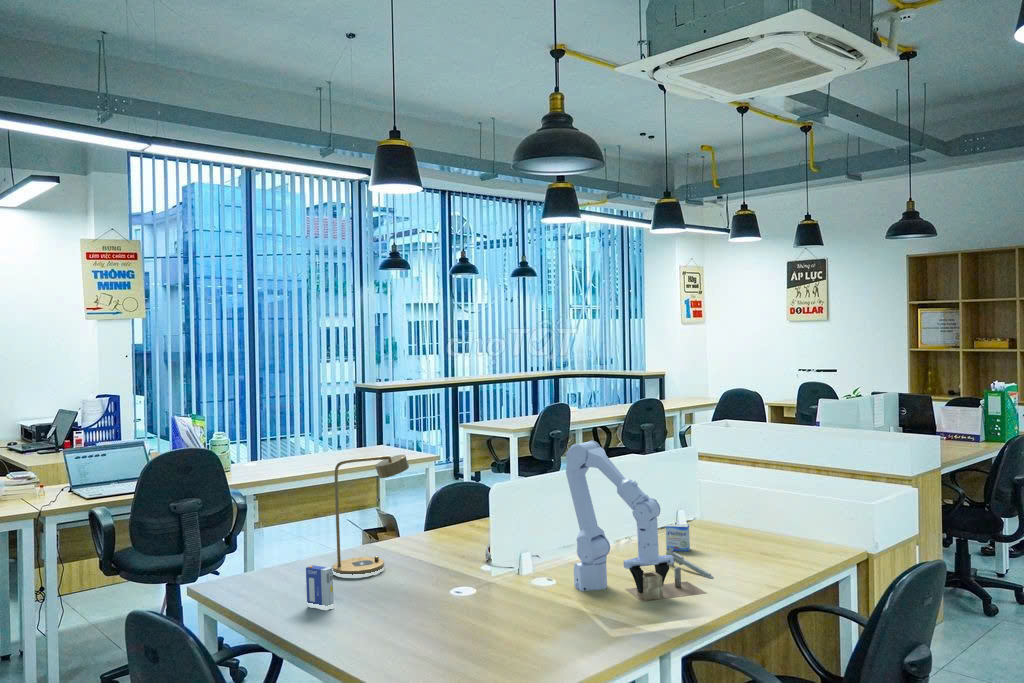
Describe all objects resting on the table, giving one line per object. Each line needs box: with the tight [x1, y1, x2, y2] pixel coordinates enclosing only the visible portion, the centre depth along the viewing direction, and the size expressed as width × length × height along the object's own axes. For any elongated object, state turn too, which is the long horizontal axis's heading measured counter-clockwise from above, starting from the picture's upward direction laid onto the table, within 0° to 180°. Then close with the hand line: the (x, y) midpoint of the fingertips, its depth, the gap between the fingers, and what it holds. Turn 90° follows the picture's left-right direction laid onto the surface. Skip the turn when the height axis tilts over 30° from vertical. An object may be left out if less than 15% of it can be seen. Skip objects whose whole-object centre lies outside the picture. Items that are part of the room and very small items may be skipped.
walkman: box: [305, 564, 335, 606], centre depth 223 cm, size 8×3×12 cm, turn 60°
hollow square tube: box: [637, 570, 663, 600], centre depth 218 cm, size 5×5×6 cm
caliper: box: [665, 547, 715, 579], centre depth 246 cm, size 20×1×6 cm, turn 31°
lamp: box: [331, 454, 410, 575], centre depth 262 cm, size 17×27×38 cm, turn 113°
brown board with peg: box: [625, 566, 707, 603], centre depth 222 cm, size 20×12×7 cm, turn 105°
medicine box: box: [665, 523, 691, 552], centre depth 272 cm, size 8×4×9 cm, turn 73°
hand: (649, 591), depth 218 cm, fingers closed on hollow square tube, 5 cm apart
